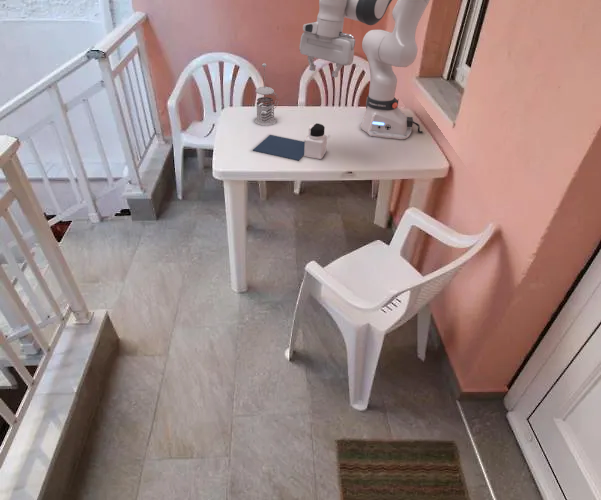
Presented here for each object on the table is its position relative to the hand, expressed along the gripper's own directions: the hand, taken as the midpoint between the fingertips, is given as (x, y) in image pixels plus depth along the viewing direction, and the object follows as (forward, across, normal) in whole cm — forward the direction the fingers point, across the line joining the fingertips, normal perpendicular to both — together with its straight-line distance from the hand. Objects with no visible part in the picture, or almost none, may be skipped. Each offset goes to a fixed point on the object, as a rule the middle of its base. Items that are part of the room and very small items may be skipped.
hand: (323, 73), depth 145 cm
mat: (+32, +14, 0) cm, 35 cm away
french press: (+31, +37, -17) cm, 51 cm away
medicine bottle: (+31, +1, -3) cm, 31 cm away
